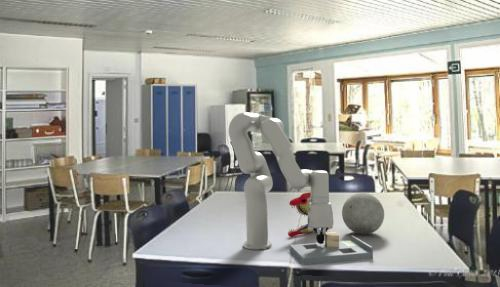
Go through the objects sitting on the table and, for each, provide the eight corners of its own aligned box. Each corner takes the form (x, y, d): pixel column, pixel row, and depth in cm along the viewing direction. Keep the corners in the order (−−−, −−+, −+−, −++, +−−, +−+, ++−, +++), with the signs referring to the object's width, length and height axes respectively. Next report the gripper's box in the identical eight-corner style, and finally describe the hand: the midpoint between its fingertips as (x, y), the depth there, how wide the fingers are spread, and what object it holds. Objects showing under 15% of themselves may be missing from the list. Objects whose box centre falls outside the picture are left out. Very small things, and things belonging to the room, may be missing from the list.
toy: (283, 236, 201) (282, 195, 200) (322, 227, 217) (322, 189, 216) (293, 239, 196) (293, 197, 195) (333, 229, 212) (332, 190, 211)
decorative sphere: (385, 230, 208) (385, 190, 207) (382, 241, 190) (382, 197, 189) (345, 227, 216) (345, 189, 215) (338, 237, 197) (338, 195, 196)
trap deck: (290, 250, 179) (289, 240, 178) (353, 245, 184) (352, 235, 184) (303, 264, 161) (303, 253, 161) (372, 258, 167) (372, 247, 166)
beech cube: (324, 243, 179) (324, 232, 179) (336, 243, 179) (336, 232, 179) (327, 247, 174) (327, 235, 174) (339, 246, 174) (339, 235, 174)
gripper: (305, 202, 170) (306, 247, 171) (340, 200, 173) (340, 244, 174) (300, 199, 178) (300, 242, 178) (333, 197, 180) (333, 239, 181)
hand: (320, 242), depth 176 cm, fingers closed
